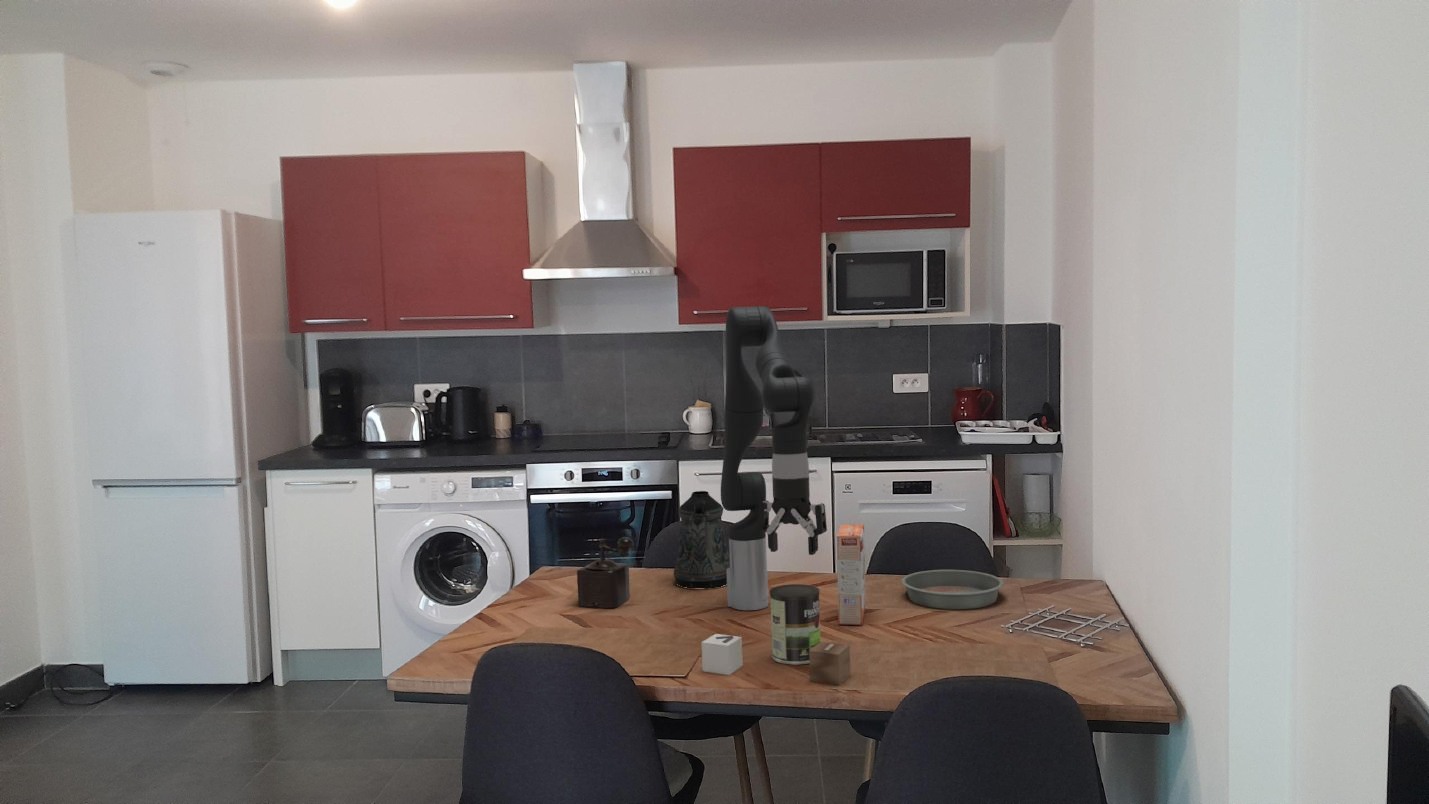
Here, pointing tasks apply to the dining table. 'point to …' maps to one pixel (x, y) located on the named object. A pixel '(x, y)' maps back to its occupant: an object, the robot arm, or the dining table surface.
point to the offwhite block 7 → (722, 654)
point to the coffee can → (794, 622)
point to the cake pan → (976, 597)
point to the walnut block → (829, 662)
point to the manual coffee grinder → (605, 579)
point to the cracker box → (851, 574)
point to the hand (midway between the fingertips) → (793, 552)
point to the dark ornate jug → (701, 544)
